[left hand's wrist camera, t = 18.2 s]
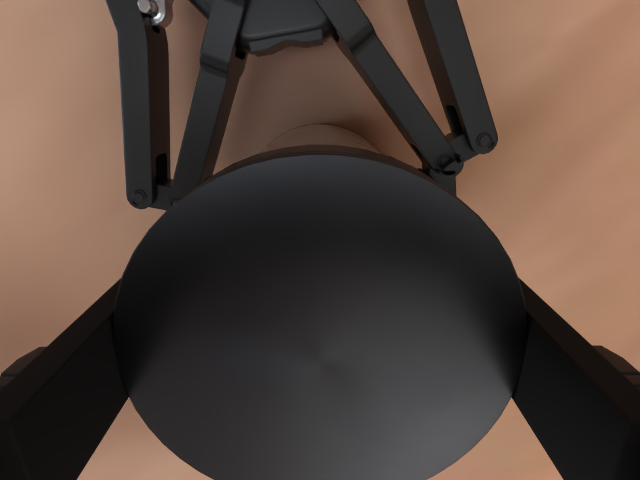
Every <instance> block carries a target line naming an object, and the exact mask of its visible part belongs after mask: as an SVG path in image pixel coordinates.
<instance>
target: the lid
mask: <svg viewBox="0 0 640 480" xmlns="http://www.w3.org/2000/svg"><path fill="white" fill-rule="evenodd" d="M113 342H114V349H115V354H116V359H117V364H118V368H119V372H120V376H121V379H122V381H123V384H124V387H125V390H126V392H127V394H128V396H129V398H130V400H131V401H132V403H133V405H134V407H135V409H136V411H137V412H138V413H139V415H140V416H141V418H142V419H143V421H144V422H145V424H146V425H147V426H148V428H149V429H150V430H151V431H152V432H153V433H154V434H155V435H156V437H157V438H158V439H159V440H160V441H161V442H162V443H163V444H164V445H165V446H166V447H167V448H168V449H170V450H171V451H172V452H173V453H174V454H175V455H176V456H178V457H179V458H180V459H181V460H183V461H184V462H186V463H187V464H189V465H190V466H191V467H193V468H194V469H196V470H197V471H199V472H201V473H202V474H204V475H206V476H208V477H210V478H212V479H214V480H427V479H429V478H431V477H433V476H435V475H436V474H438V473H439V472H441V471H443V470H444V469H446V468H447V467H449V466H450V465H452V464H454V463H455V462H456V461H457V460H459V459H460V458H461V457H462V456H464V455H465V454H466V453H467V452H469V451H470V450H471V449H472V448H473V447H474V446H475V445H476V444H477V443H478V442H479V441H480V440H481V439H482V438H483V437H484V436H485V435H486V434H487V433H488V432H489V430H490V429H491V428H492V426H493V425H494V424H495V422H496V421H497V420H498V418H499V417H500V416H501V414H502V412H503V411H504V409H505V407H506V405H507V404H508V402H509V400H510V398H511V397H512V395H513V392H514V390H515V387H516V385H517V382H518V380H519V377H520V374H521V369H522V365H523V360H524V356H525V351H526V342H527V317H526V305H525V301H524V297H523V293H522V288H521V284H520V281H519V279H518V276H517V274H516V271H515V269H514V267H513V264H512V262H511V259H510V258H509V256H508V254H507V253H506V251H505V249H504V248H503V246H502V245H501V243H500V241H499V240H498V238H497V236H496V235H495V234H494V233H493V232H492V231H491V229H490V228H489V227H488V226H487V225H486V224H485V222H484V221H483V220H482V219H481V218H480V217H479V215H477V214H476V213H475V212H474V211H473V210H472V209H470V208H469V207H468V206H467V205H466V204H465V203H464V202H462V201H461V200H460V199H459V198H458V197H457V196H455V195H454V194H452V193H451V192H450V191H449V190H447V189H446V188H445V187H443V186H442V185H441V184H439V183H438V182H437V181H435V180H433V179H432V178H430V177H429V176H427V175H426V174H424V173H422V172H421V171H419V170H418V169H416V168H414V167H412V166H410V165H408V164H406V163H403V162H401V161H399V160H397V159H395V158H392V157H390V156H386V155H383V154H380V153H376V152H373V151H370V150H366V149H361V148H354V147H348V146H342V145H316V144H310V145H301V146H292V147H283V148H279V149H275V150H271V151H267V152H263V153H259V154H256V155H254V156H251V157H249V158H246V159H244V160H241V161H239V162H236V163H234V164H232V165H230V166H228V167H226V168H225V169H223V170H221V171H219V172H218V173H216V174H214V175H213V176H211V177H209V178H208V179H207V180H205V181H204V182H203V183H201V184H200V185H199V186H197V187H196V188H195V189H193V190H192V191H191V192H189V193H188V194H187V195H186V196H184V197H183V198H182V199H180V200H179V201H178V202H177V203H175V204H174V205H173V206H172V207H170V208H169V209H168V210H167V211H166V212H165V213H164V214H163V215H162V216H161V217H160V218H159V219H158V220H157V222H156V223H155V224H154V225H153V226H152V227H151V228H150V229H149V230H148V232H147V233H146V235H145V236H144V237H143V239H142V240H141V242H140V243H139V245H138V246H137V248H136V249H135V251H134V252H133V254H132V256H131V258H130V261H129V263H128V265H127V267H126V269H125V271H124V273H123V276H122V279H121V283H120V286H119V289H118V293H117V296H116V301H115V309H114V317H113Z"/></svg>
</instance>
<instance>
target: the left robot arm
mask: <svg viewBox="0 0 640 480" xmlns="http://www.w3.org/2000/svg"><path fill="white" fill-rule="evenodd" d="M121 279H122V278H121ZM121 279H120V280H119V281H117V282H116V283H115V284H114V285H113V286H112V287H111V288H110V289H109V290H108V291H107V292H106V293H105V294H103V295H102V296H101V297H100V298H99V299H98V300H97V301H96V302H95V303H94V304H93V305H92V306H91V307H89V308H88V309H87V310H86V311H85V312H84V313H83V314H82V315H81V316H80V317H79V318H78V319H77V320H75V321H74V322H73V323H72V324H71V325H70V326H69V327H68V328H67V329H66V330H65V331H64V332H62V333H61V334H60V335H59V336H58V337H57V338H56V339H55V340H54V341H53V342H52V343H51V344H50V345H48V346H47V347H39V348H37V349H35V350H33V351H31V352H30V353H28V354H26V355H24V356H23V357H21V358H19V359H17V360H16V361H15V362H14V363H13V364H12V365H11V366H9V367H8V368H7V369H6V370H5V371H4V372H3V373H1V376H0V480H77V478H78V477H79V475H80V474H81V472H82V470H83V469H84V467H85V466H86V464H87V462H88V461H89V459H90V458H91V456H92V454H93V453H94V451H95V450H96V448H97V447H98V445H99V443H100V442H101V440H102V439H103V437H104V435H105V434H106V432H107V431H108V429H109V428H110V426H111V424H112V423H113V421H114V420H115V418H116V416H117V415H118V413H119V412H120V410H121V408H122V407H123V405H124V404H125V402H126V401H127V399H128V397H129V396H128V394H127V392H126V390H125V387H124V384H123V381H122V379H121V376H120V372H119V368H118V364H117V359H116V354H115V349H114V342H113V317H114V309H115V301H116V296H117V293H118V289H119V286H120V283H121ZM518 279H519V281H520V284H521V288H522V293H523V297H524V301H525V305H526V317H527V342H526V351H525V356H524V360H523V365H522V369H521V374H520V377H519V380H518V382H517V385H516V387H515V390H514V392H513V395H512V399H513V400H514V402H515V403H516V405H517V407H518V408H519V410H520V411H521V413H522V414H523V416H524V418H525V419H526V421H527V422H528V424H529V426H530V427H531V429H532V430H533V432H534V433H535V435H536V437H537V438H538V440H539V441H540V443H541V445H542V446H543V448H544V449H545V451H546V452H547V454H548V456H549V457H550V459H551V460H552V462H553V464H554V465H555V467H556V468H557V470H558V472H559V473H560V475H561V476H562V478H563V479H564V480H640V372H639V371H637V370H636V369H635V368H634V367H633V366H632V365H631V364H629V363H628V362H627V361H626V360H625V359H624V358H622V357H620V356H619V355H617V354H615V353H613V352H612V351H610V350H608V349H606V348H604V347H603V346H592V345H591V344H590V343H589V342H587V341H586V340H585V339H584V338H583V337H582V336H581V335H580V334H579V333H578V332H577V331H576V330H575V329H573V328H572V327H571V326H570V325H569V324H568V323H567V322H566V321H565V320H564V319H563V318H562V317H561V316H559V315H558V314H557V313H556V312H555V311H554V310H553V309H552V308H551V307H550V306H549V305H548V304H547V303H545V302H544V301H543V300H542V299H541V298H540V297H539V296H538V295H537V294H536V293H535V292H534V291H532V290H531V289H530V288H529V287H528V286H527V285H526V284H525V283H524V282H523V281H522V280H521V279H520V278H518Z"/></svg>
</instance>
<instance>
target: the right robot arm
mask: <svg viewBox="0 0 640 480" xmlns="http://www.w3.org/2000/svg"><path fill="white" fill-rule="evenodd" d="M173 1H174V0H106V3H107V5H108V8H109V11H110V13H111V16H112V19H113V21H114V24H115V27H116V29H117V32H118V49H119V67H120V85H121V104H122V122H123V140H124V158H125V176H126V194H127V199H128V201H129V203H130V204H131V205H132V206H134V207H135V208H138V209H145V208H147V207H151V208H157V209H162V210H166V211H167V210H168V209H169V208H170V207H172V206H173V205H174V204H175V203H177V202H178V201H179V200H180V199H182V198H183V197H184V196H186V195H187V194H188V193H189V192H191V191H192V190H193V189H195V188H196V187H197V186H199V185H200V184H201V183H203V182H204V181H205V180H207V179H208V178H209V177H211V176H212V175H213V172H214V168H215V164H216V161H217V157H218V154H219V150H220V146H221V143H222V139H223V136H224V132H225V128H226V125H227V121H228V118H229V114H230V110H231V107H232V103H233V100H234V96H235V92H236V89H237V85H238V82H239V79H240V77H241V75H242V73H243V70H244V67H245V64H246V60H247V57H248V53H249V54H253V55H256V56H257V57H258V56H264V55H269V54H274V53H276V52H278V51H280V50H282V49H284V48H286V47H288V46H296V47H305V48H308V47H313V46H319V45H323V42H325V41H327V40H328V39H330V38H331V37H332V39H333V40H334V41H335V43H336V44H337V46H338V47H339V48H340V50H341V51H342V52H343V54H344V55H345V56H346V57H347V58H348V59H349V61H350V62H351V63H352V65H353V66H354V68H355V69H356V70H357V72H358V73H359V75H360V76H361V77H362V79H363V80H364V82H365V83H366V84H367V86H368V87H369V89H370V90H371V92H372V93H373V94H374V96H375V97H376V99H377V100H378V101H379V103H380V104H381V106H382V107H383V108H384V110H385V111H386V113H387V114H388V115H389V117H390V118H391V120H392V121H393V122H394V124H395V125H396V127H397V128H398V129H399V131H400V132H401V134H402V135H403V137H404V138H405V139H406V141H407V142H408V144H409V145H410V146H411V148H412V149H413V151H414V152H415V153H416V155H417V156H418V158H419V159H420V160H421V162H422V169H421V168H419V169H418V170H419V171H421V172H422V173H424V174H426V175H427V176H429V177H430V178H432V179H433V180H435V181H437V182H438V183H439V184H441V185H442V186H443V187H445V188H446V189H447V190H449V191H450V192H451V193H452V194H454V195H455V196H456V179H455V178H456V175H458V174H459V173H460V172H461V170H462V168H463V164H464V162H465V161H467V160H468V159H470V158H472V157H474V156H476V155H478V154H485V153H489V152H490V151H492V150H493V149H494V147H495V146H496V144H497V141H498V136H497V132H496V129H495V125H494V122H493V119H492V115H491V112H490V109H489V105H488V102H487V99H486V96H485V92H484V89H483V86H482V82H481V79H480V76H479V72H478V69H477V66H476V63H475V59H474V56H473V53H472V49H471V46H470V43H469V40H468V36H467V33H466V30H465V26H464V23H463V20H462V16H461V13H460V10H459V7H458V3H457V0H407V2H408V5H409V9H410V12H411V15H412V18H413V21H414V24H415V27H416V30H417V33H418V35H419V38H420V41H421V44H422V47H423V50H424V53H425V56H426V59H427V62H428V65H429V68H430V71H431V74H432V76H433V79H434V82H435V85H436V88H437V91H438V94H439V97H440V100H441V103H442V106H443V109H444V112H445V115H446V117H447V120H448V123H449V126H450V129H451V133H449V134H447V135H446V136H444V134H443V133H442V131H441V130H440V128H439V127H438V126H437V124H436V123H435V121H434V120H433V118H432V117H431V115H430V114H429V112H428V111H427V109H426V108H425V106H424V105H423V103H422V102H421V100H420V99H419V97H418V96H417V94H416V93H415V91H414V90H413V89H412V87H411V86H410V84H409V83H408V81H407V80H406V78H405V77H404V75H403V74H402V72H401V71H400V69H399V68H398V66H397V65H396V63H395V62H394V60H393V59H392V57H391V56H390V55H389V53H388V52H387V50H386V49H385V47H384V46H383V44H382V43H381V41H380V40H379V38H378V37H377V35H376V33H375V30H374V28H373V26H372V24H371V22H370V21H369V19H368V18H367V16H366V15H365V13H364V12H363V10H362V9H361V7H360V6H359V4H358V3H357V1H356V0H189V1H190V2H191V3H192V4H193V5H194V6H195V8H196V9H197V10H198V11H199V12H200V13H201V14H202V15H203V16H204V17H205V18H206V19H207V20H208V23H207V27H206V31H205V35H204V39H203V43H202V48H201V52H200V71H199V75H198V79H197V83H196V87H195V92H194V96H193V100H192V104H191V108H190V112H189V116H188V120H187V124H186V129H185V133H184V137H183V141H182V145H181V149H180V153H179V157H178V161H177V166H176V170H175V174H174V178H173V179H171V177H170V113H169V53H168V42H167V36H166V31H165V27H167V26H168V25H169V24H170V23H171V21H172V18H173V10H172V5H173Z"/></svg>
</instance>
